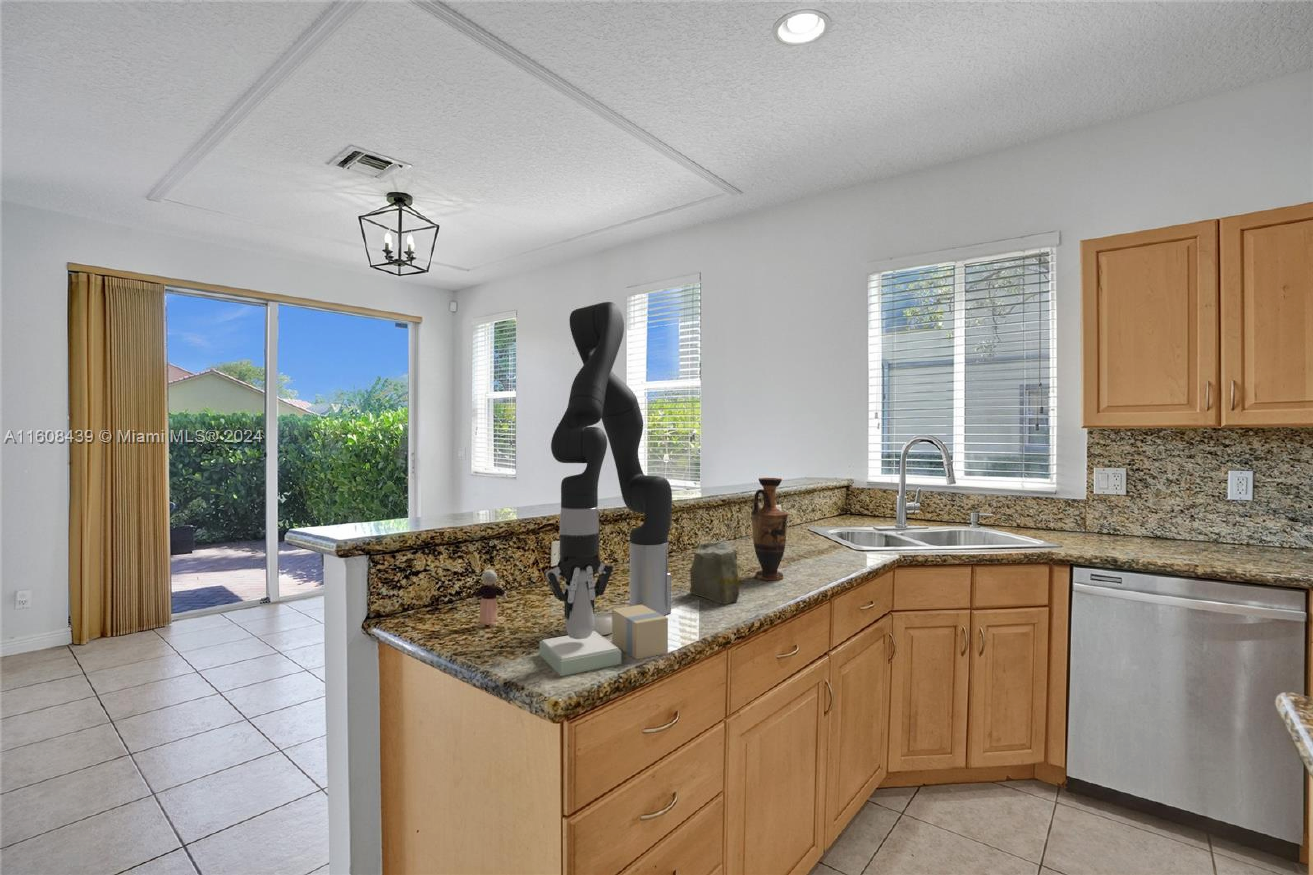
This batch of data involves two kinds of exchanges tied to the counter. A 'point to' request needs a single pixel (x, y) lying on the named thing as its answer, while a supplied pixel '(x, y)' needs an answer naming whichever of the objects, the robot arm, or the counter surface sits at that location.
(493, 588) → the grandmother figurine
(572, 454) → the robot arm
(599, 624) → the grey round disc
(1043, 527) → the counter surface
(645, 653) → the kraft carton
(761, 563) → the vase
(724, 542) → the stone block
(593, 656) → the podium
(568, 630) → the salt shaker
